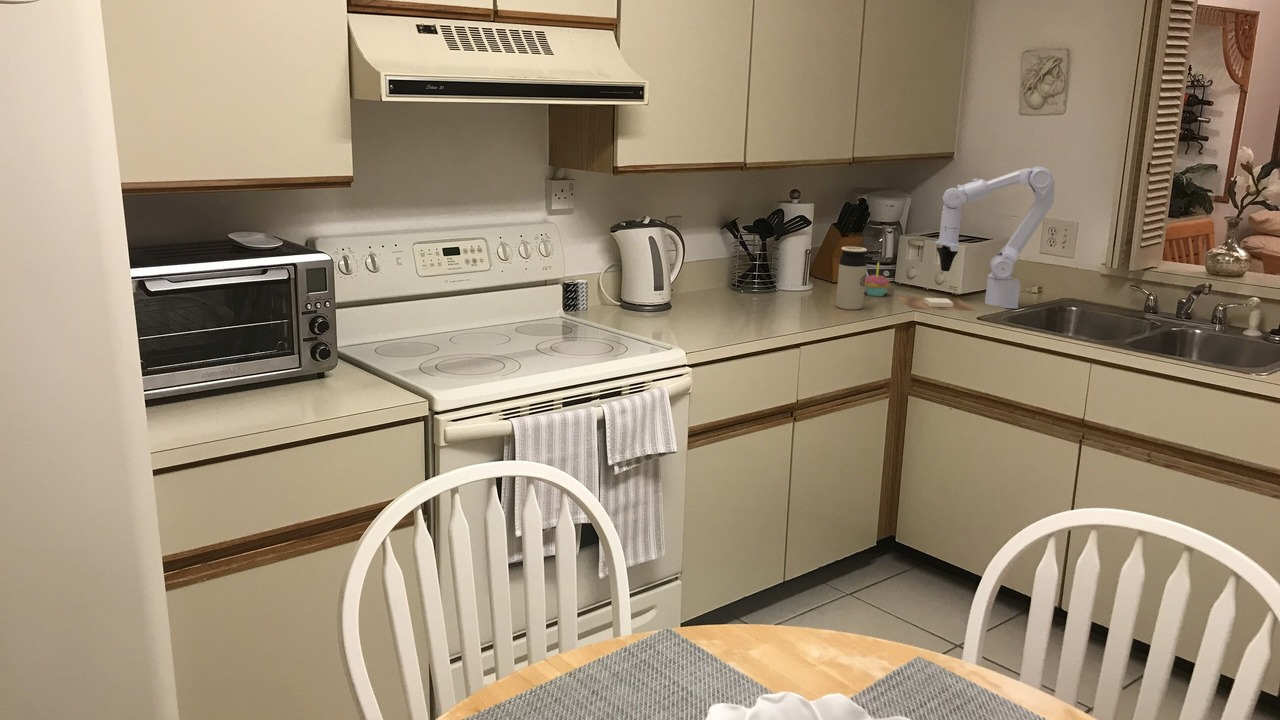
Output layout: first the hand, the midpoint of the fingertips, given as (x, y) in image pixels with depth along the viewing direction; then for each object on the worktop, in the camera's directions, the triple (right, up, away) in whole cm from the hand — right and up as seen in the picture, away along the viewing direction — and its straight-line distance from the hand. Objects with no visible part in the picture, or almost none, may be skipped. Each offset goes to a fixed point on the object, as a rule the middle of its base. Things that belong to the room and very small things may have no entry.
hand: (945, 270), depth 317 cm
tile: (-4, -9, -4) cm, 11 cm away
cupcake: (-20, -8, +7) cm, 23 cm away
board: (-4, -11, -4) cm, 13 cm away
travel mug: (-32, -12, -10) cm, 36 cm away
